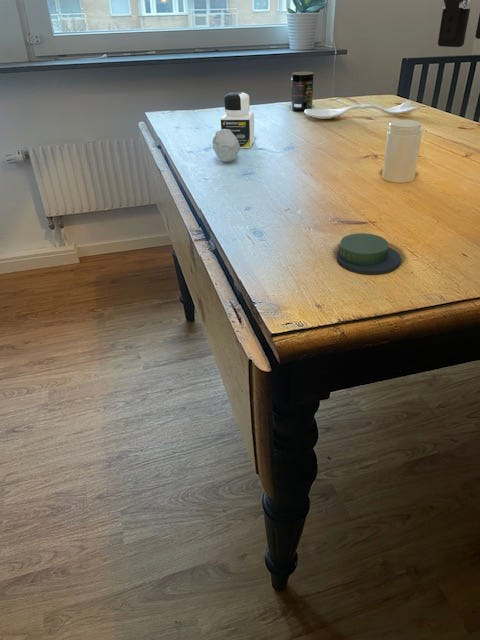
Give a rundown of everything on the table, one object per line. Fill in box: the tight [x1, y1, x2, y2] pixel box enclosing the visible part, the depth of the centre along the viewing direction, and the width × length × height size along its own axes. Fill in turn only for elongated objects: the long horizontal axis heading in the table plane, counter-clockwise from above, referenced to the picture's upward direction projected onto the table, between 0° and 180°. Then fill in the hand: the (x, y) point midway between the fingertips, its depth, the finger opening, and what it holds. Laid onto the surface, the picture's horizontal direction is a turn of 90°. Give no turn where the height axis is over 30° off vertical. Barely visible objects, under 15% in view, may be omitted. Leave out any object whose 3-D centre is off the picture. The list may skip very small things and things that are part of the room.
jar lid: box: [338, 232, 390, 265], centre depth 72 cm, size 7×7×2 cm
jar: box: [381, 119, 423, 184], centre depth 98 cm, size 6×6×10 cm
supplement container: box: [290, 71, 315, 113], centre depth 155 cm, size 7×7×10 cm
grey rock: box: [212, 128, 240, 163], centre depth 113 cm, size 6×7×7 cm
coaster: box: [336, 246, 402, 276], centre depth 72 cm, size 9×9×1 cm
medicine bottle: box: [220, 91, 255, 149], centre depth 123 cm, size 7×7×12 cm
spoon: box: [304, 100, 421, 120], centre depth 145 cm, size 9×32×4 cm, turn 89°
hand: (469, 42), depth 65 cm, fingers open, 9 cm apart
